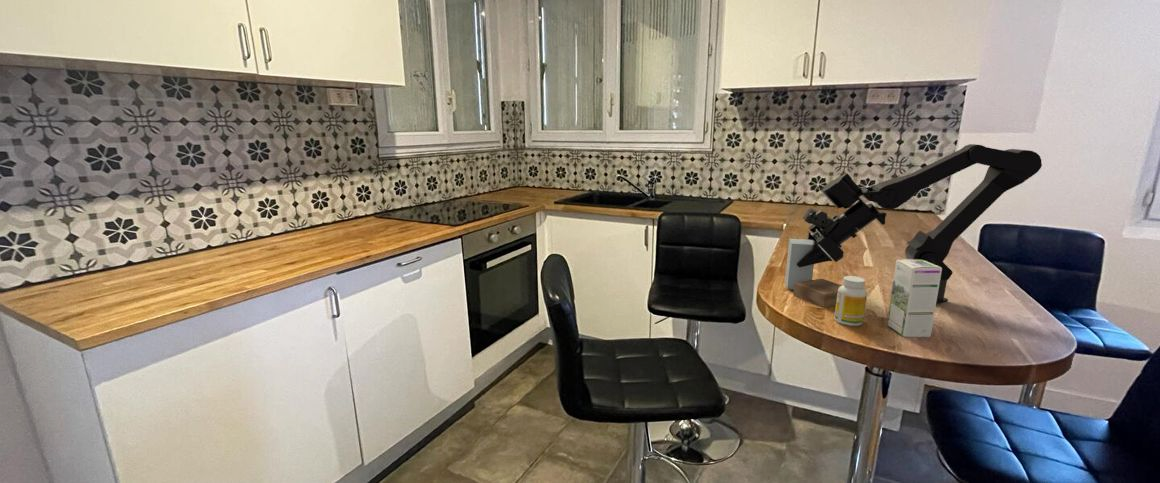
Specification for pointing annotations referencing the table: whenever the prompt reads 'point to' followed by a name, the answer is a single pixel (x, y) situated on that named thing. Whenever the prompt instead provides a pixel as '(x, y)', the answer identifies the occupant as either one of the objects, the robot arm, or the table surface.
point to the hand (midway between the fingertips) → (796, 262)
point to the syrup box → (914, 297)
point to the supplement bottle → (851, 301)
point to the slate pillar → (795, 254)
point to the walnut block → (817, 291)
